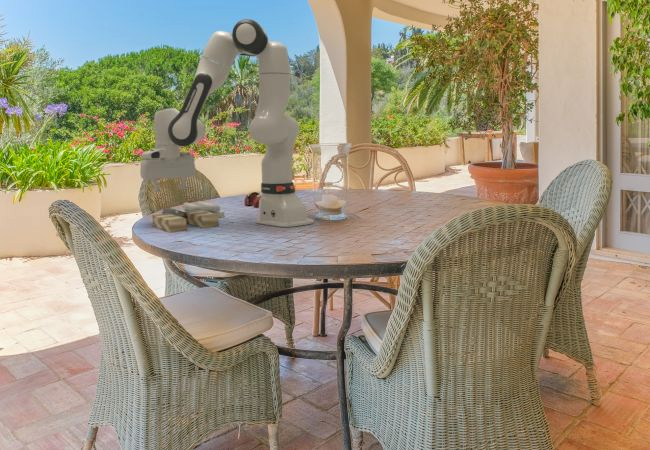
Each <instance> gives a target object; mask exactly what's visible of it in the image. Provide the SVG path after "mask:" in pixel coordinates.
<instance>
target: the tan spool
mask: <svg viewBox="0 0 650 450" xmlns="http://www.w3.org/2000/svg"><path fill="white" fill-rule="evenodd" d="M185 213H186V215H187V221H186V218H182V217H179V216H176V215H172V214H169V213H168V214H162V213H161V214H152V215H151V216H152V217H151V218H152V227H154V228H157V229H161V230H162V231H163V230H164V231H166V232H168V233H175V232H183V231H187V230H188V224H189V225H192V226H195V227H200V228H202V229H205V228H212V227H213V228H214V227H219V226H220V225H219V223H220V222H219V218H218V215H217V214H213V213H209V212H205V211H201V210H195V211H186V212H185Z"/></svg>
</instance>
